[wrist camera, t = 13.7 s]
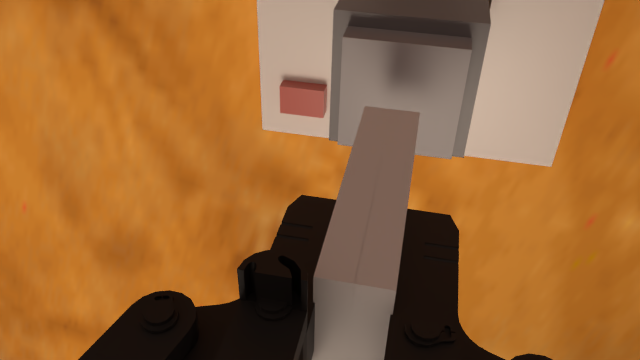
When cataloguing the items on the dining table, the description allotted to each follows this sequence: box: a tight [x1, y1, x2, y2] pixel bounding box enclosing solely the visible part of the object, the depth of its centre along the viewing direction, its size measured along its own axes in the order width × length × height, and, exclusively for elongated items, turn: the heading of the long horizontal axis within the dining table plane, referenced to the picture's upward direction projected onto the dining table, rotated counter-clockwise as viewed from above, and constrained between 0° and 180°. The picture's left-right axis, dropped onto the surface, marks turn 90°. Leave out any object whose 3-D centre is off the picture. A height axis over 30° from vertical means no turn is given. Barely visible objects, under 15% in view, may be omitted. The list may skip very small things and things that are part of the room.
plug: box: [329, 0, 491, 159], centre depth 24 cm, size 5×5×13 cm
